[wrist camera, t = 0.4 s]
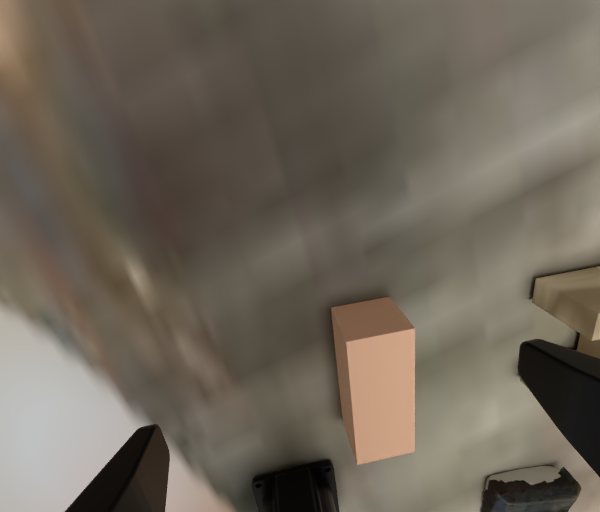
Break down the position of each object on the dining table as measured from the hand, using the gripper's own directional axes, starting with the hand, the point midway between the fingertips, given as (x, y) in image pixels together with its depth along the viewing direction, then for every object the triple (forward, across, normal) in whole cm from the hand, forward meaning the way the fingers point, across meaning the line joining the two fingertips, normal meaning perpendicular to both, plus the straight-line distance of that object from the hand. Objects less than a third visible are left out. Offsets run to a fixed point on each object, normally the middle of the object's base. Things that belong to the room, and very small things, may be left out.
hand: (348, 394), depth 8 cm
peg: (+14, -4, +10) cm, 17 cm away
